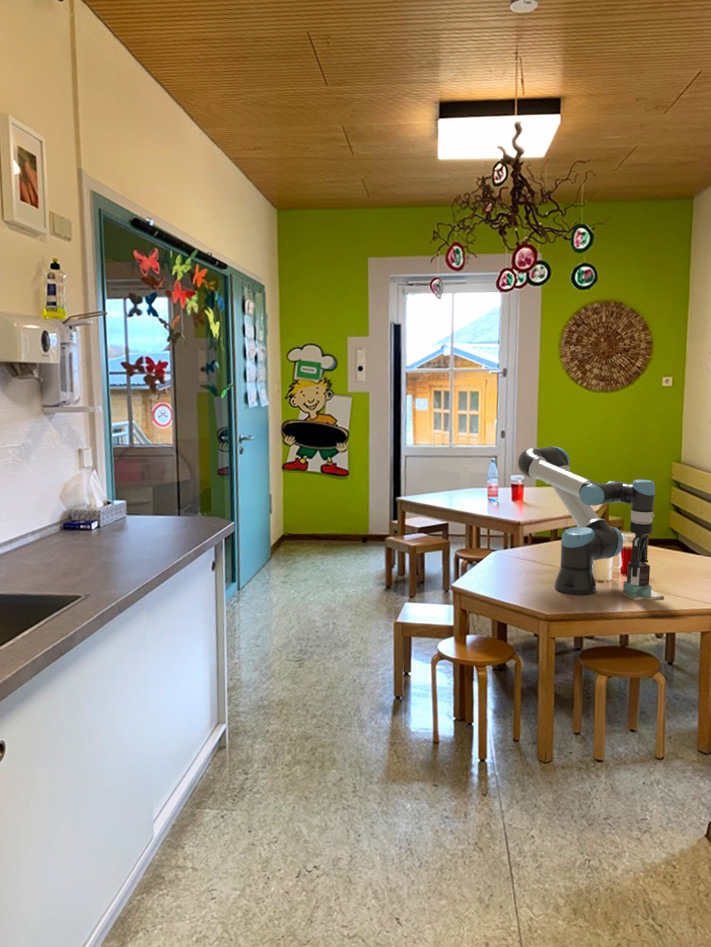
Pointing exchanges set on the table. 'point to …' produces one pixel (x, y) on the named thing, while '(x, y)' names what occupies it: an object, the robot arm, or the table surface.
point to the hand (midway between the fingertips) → (637, 582)
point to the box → (642, 575)
